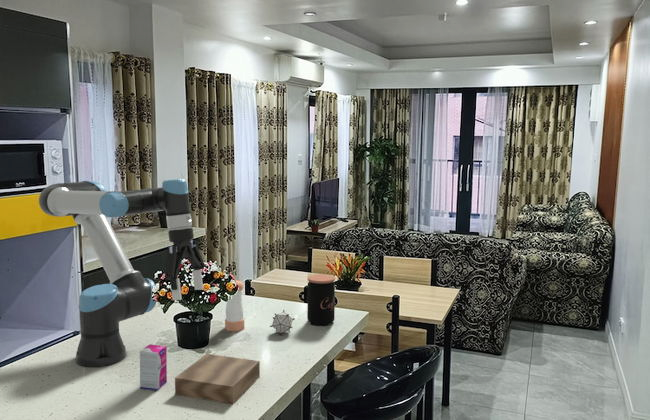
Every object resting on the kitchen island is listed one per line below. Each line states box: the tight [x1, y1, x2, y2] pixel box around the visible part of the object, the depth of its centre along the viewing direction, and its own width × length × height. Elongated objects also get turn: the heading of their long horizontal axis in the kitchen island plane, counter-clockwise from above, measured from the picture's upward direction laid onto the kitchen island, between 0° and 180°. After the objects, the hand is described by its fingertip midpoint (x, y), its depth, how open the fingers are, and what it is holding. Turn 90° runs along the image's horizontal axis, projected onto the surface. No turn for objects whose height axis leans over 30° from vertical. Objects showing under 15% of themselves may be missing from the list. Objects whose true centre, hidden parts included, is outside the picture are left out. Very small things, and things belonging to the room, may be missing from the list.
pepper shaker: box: [224, 278, 245, 332], centre depth 208 cm, size 7×7×19 cm
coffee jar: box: [306, 273, 336, 327], centre depth 216 cm, size 11×11×18 cm
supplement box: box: [139, 343, 168, 391], centre depth 160 cm, size 6×6×12 cm
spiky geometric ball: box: [269, 309, 295, 336], centre depth 204 cm, size 9×8×10 cm
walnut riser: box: [174, 353, 261, 405], centre depth 161 cm, size 18×18×5 cm
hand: (188, 294), depth 174 cm, fingers open, 13 cm apart
